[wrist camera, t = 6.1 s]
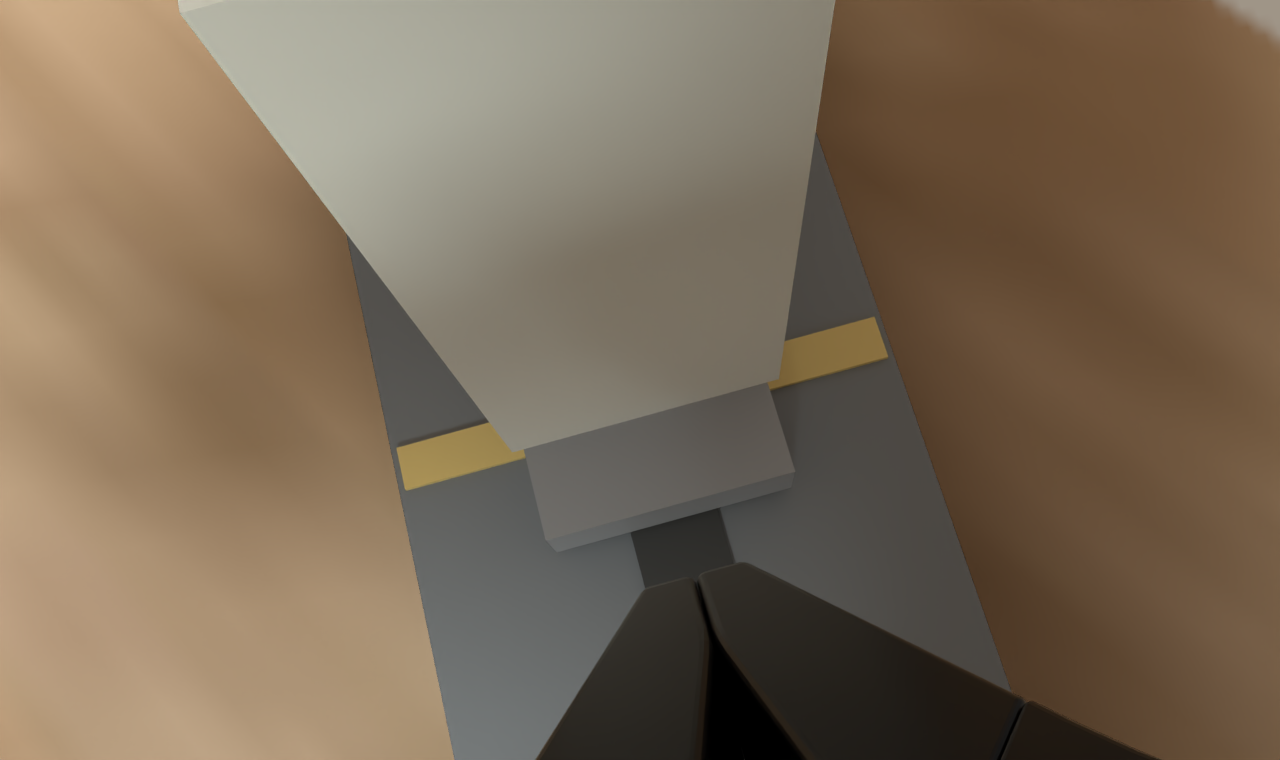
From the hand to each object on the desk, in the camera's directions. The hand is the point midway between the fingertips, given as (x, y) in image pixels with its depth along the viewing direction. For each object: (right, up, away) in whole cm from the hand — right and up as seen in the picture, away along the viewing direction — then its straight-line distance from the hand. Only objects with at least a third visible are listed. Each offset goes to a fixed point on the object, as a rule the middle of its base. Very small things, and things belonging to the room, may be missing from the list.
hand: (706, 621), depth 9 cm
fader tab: (-1, +2, +7) cm, 7 cm away
